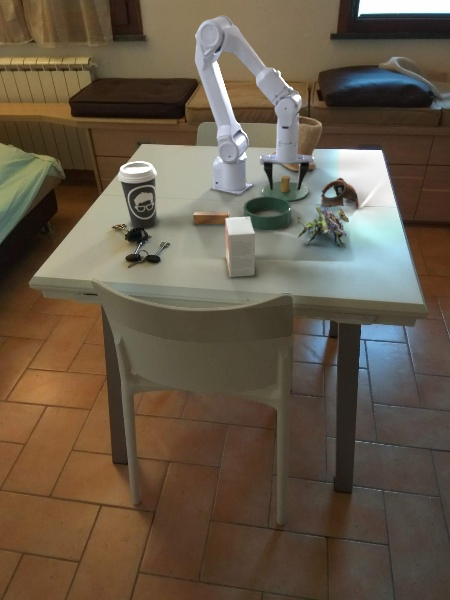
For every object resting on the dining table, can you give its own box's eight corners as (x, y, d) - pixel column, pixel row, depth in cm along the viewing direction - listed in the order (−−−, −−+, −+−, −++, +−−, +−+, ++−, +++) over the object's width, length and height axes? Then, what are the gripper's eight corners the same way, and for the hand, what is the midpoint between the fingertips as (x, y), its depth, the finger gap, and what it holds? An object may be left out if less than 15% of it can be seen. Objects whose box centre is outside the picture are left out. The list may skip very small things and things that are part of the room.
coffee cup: (168, 216, 128) (162, 162, 119) (152, 233, 121) (145, 176, 112) (136, 212, 131) (128, 158, 122) (119, 228, 124) (109, 172, 115)
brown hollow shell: (363, 215, 126) (353, 193, 121) (328, 227, 130) (317, 206, 125) (358, 186, 134) (348, 164, 128) (325, 199, 138) (315, 178, 132)
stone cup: (325, 170, 151) (330, 121, 142) (292, 176, 148) (295, 127, 139) (301, 155, 163) (304, 109, 154) (270, 161, 159) (271, 114, 150)
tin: (235, 225, 123) (234, 210, 121) (257, 206, 132) (257, 193, 129) (277, 235, 118) (278, 221, 116) (298, 216, 126) (299, 202, 124)
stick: (194, 224, 124) (193, 215, 122) (195, 221, 126) (194, 211, 124) (228, 225, 123) (228, 215, 122) (229, 221, 125) (229, 211, 123)
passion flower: (335, 264, 117) (358, 242, 106) (293, 261, 115) (311, 238, 103) (331, 222, 120) (352, 197, 109) (290, 219, 118) (307, 193, 107)
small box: (226, 258, 110) (224, 217, 104) (250, 257, 110) (250, 215, 104) (229, 278, 104) (227, 234, 97) (254, 276, 104) (255, 233, 98)
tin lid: (254, 198, 136) (254, 181, 133) (274, 182, 145) (275, 165, 142) (296, 207, 130) (297, 189, 127) (314, 190, 139) (316, 173, 136)
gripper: (313, 135, 131) (310, 183, 139) (260, 136, 132) (260, 182, 140) (315, 144, 125) (311, 193, 133) (259, 144, 127) (259, 192, 135)
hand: (285, 188), depth 137 cm, fingers open, 7 cm apart
